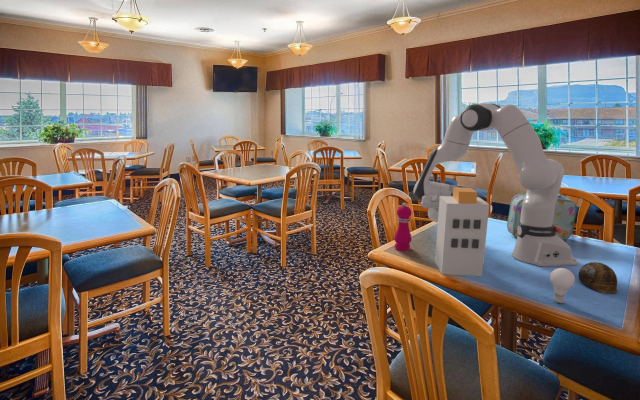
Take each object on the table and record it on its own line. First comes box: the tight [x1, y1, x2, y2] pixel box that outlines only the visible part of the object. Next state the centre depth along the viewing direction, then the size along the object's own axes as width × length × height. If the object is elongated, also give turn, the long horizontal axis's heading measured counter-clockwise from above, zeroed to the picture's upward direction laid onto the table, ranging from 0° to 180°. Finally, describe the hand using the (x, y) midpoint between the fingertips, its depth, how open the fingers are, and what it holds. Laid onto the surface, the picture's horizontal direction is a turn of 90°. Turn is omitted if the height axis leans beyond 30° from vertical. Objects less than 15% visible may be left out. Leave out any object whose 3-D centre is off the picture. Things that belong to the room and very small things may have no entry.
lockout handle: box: [449, 184, 478, 204], centre depth 142 cm, size 6×22×4 cm, turn 174°
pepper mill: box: [393, 202, 412, 252], centre depth 161 cm, size 7×7×20 cm
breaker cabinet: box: [434, 196, 490, 277], centre depth 139 cm, size 14×13×26 cm
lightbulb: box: [549, 267, 576, 304], centre depth 116 cm, size 6×6×11 cm
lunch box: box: [506, 193, 577, 242], centre depth 175 cm, size 27×10×21 cm, turn 85°
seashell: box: [577, 261, 619, 295], centre depth 127 cm, size 11×9×8 cm
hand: (449, 196), depth 157 cm, fingers open, 8 cm apart
